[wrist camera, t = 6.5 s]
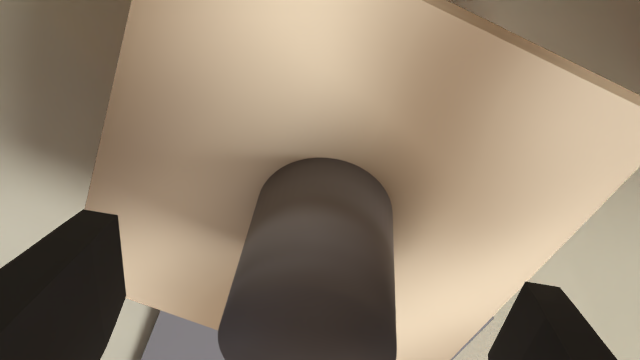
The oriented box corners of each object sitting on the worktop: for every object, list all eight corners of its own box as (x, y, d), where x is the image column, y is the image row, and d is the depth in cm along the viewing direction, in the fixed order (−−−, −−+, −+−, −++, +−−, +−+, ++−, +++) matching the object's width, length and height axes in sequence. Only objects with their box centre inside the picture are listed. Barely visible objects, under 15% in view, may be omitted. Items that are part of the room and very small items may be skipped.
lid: (82, 256, 15) (-14, 406, 11) (176, -133, 9) (43, -86, 5) (411, 374, 16) (420, 537, 13) (661, 105, 11) (803, 261, 7)
